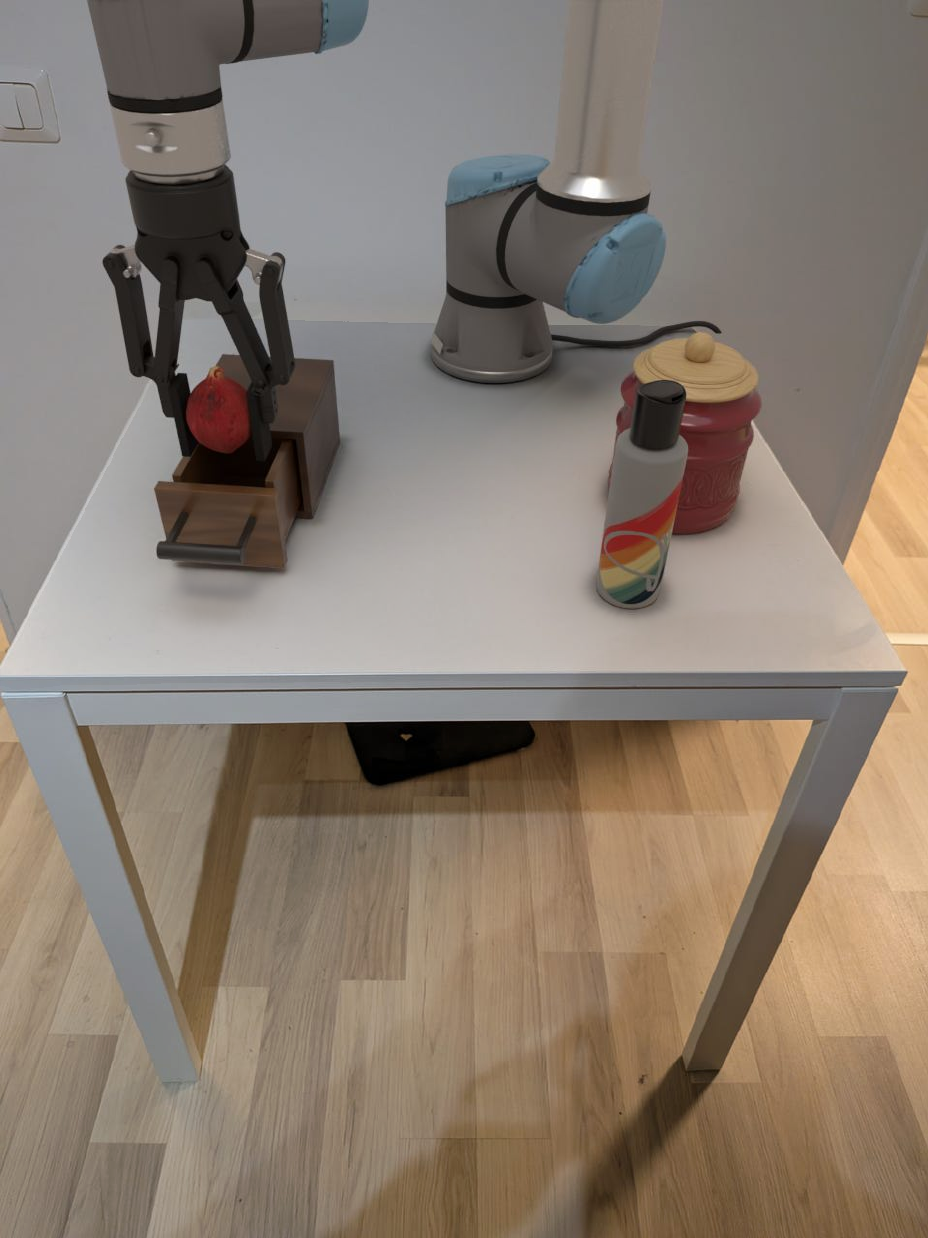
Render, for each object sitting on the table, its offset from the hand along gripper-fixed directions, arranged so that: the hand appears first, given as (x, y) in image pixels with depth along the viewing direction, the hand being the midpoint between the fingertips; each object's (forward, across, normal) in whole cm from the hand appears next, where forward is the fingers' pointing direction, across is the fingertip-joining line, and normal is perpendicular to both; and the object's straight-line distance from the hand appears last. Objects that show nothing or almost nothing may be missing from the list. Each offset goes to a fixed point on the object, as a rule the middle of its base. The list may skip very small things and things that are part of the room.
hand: (227, 450), depth 81 cm
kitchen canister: (+10, +41, +12) cm, 44 cm away
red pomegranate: (0, 0, 0) cm, 0 cm away
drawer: (+9, 0, -1) cm, 9 cm away
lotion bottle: (+10, +36, -4) cm, 38 cm away
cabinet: (+10, 0, +12) cm, 15 cm away
